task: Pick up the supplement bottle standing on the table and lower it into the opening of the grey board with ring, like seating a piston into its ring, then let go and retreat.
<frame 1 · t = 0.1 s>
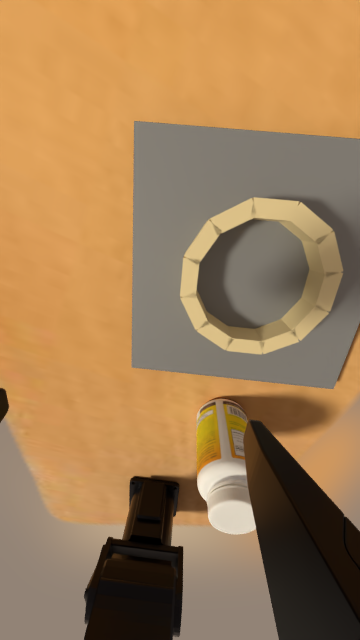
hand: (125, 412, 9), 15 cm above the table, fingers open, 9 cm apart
grey board with ring: (248, 275, 21), on the table
supplement bottle: (220, 414, 27), on the table
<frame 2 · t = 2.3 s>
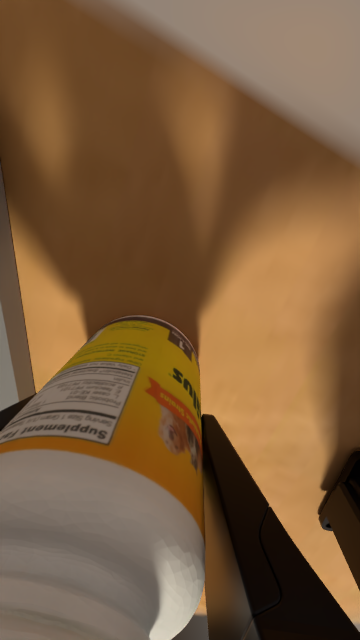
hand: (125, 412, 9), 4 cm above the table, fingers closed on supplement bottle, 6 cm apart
supplement bottle: (145, 359, 12), on the table, touching gripper
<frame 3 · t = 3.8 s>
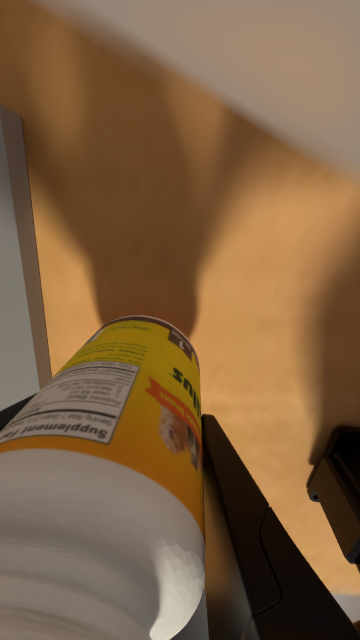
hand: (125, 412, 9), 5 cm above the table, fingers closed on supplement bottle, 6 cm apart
supplement bottle: (145, 359, 12), point 1 cm above the table, touching gripper
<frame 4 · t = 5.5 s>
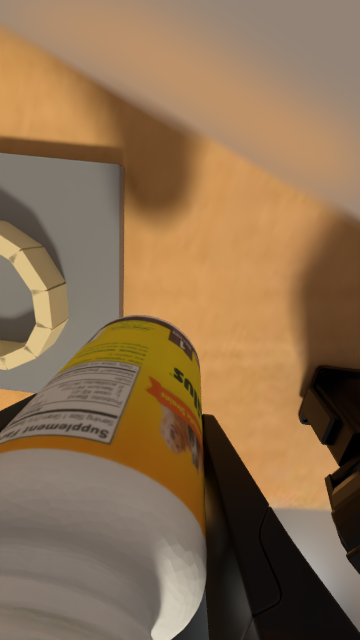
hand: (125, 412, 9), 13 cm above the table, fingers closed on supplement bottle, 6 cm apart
grey board with ring: (11, 289, 21), on the table
supplement bottle: (146, 359, 12), point 9 cm above the table, touching gripper
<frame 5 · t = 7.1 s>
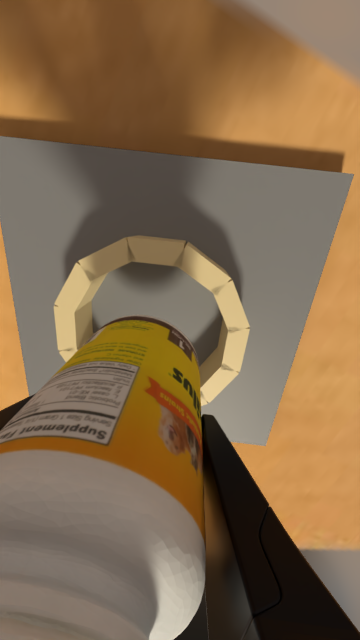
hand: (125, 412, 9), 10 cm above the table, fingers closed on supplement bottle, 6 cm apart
grey board with ring: (158, 317, 18), on the table
supplement bottle: (145, 359, 12), point 6 cm above the table, touching gripper
when the fingers open (6 cm above the table, at t = 8.5 s): supplement bottle drops 1 cm, resting on grey board with ring.
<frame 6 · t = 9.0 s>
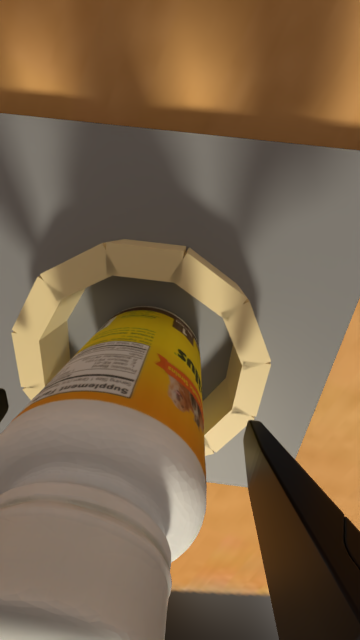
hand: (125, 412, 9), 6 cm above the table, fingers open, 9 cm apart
grey board with ring: (152, 340, 14), on the table
supplement bottle: (150, 347, 13), point 1 cm above the table, touching grey board with ring
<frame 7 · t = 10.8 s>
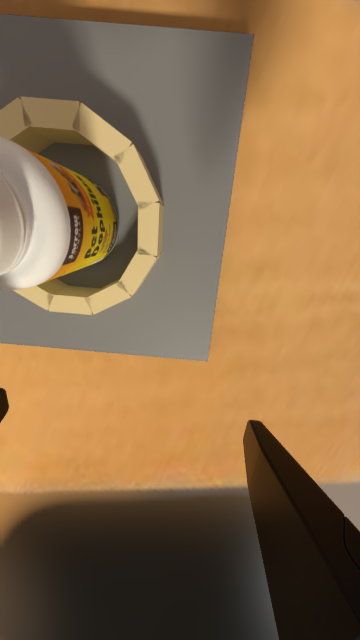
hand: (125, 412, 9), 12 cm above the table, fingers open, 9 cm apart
grey board with ring: (86, 222, 17), on the table
supplement bottle: (82, 222, 16), point 1 cm above the table, touching grey board with ring
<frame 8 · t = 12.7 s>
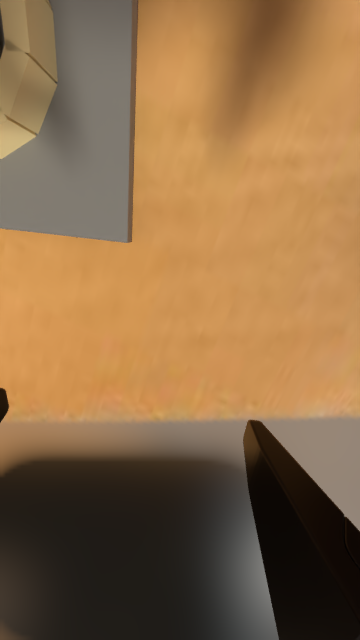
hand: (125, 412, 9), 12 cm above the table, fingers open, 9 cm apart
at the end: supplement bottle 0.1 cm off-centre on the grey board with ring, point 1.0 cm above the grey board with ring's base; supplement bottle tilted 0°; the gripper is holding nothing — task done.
